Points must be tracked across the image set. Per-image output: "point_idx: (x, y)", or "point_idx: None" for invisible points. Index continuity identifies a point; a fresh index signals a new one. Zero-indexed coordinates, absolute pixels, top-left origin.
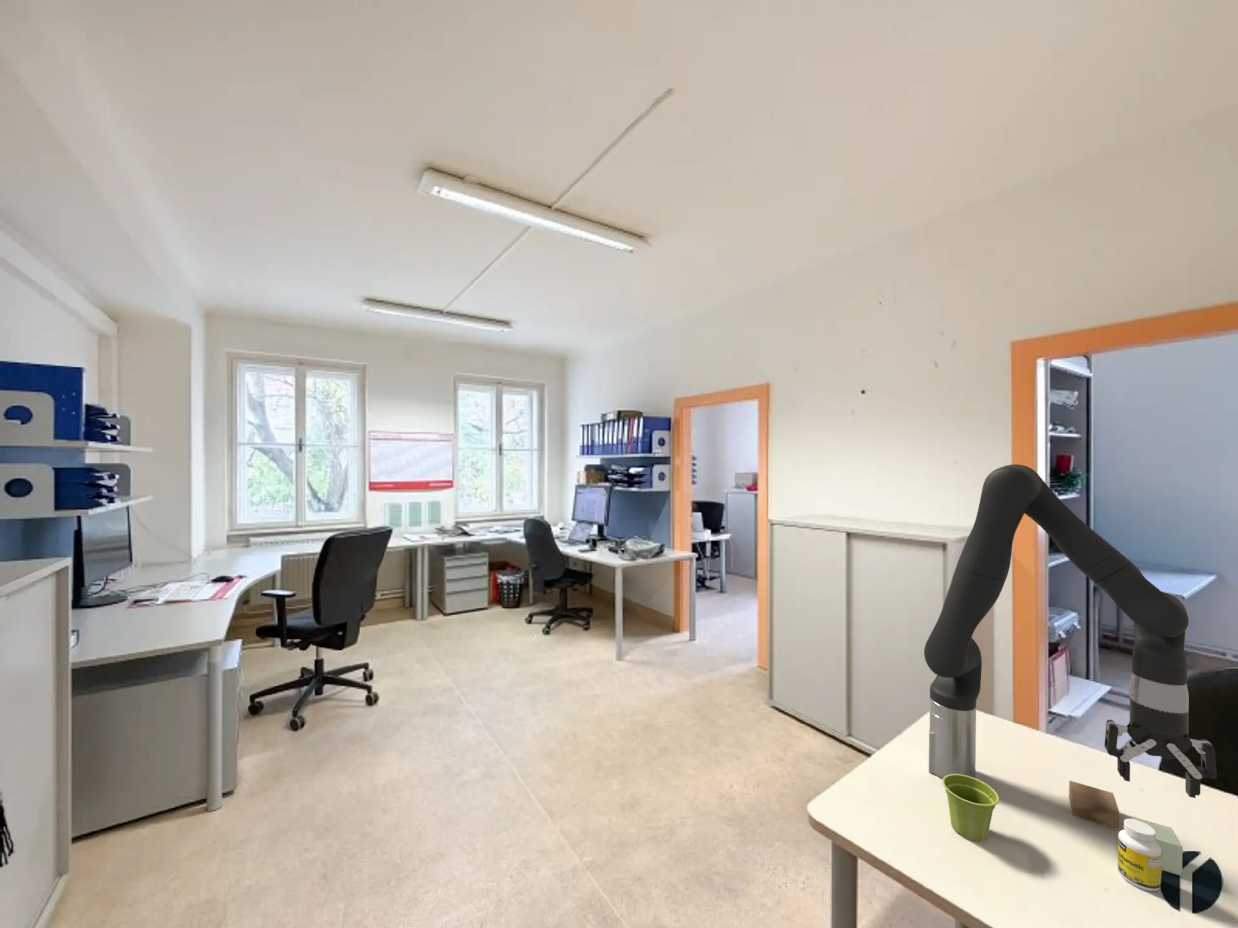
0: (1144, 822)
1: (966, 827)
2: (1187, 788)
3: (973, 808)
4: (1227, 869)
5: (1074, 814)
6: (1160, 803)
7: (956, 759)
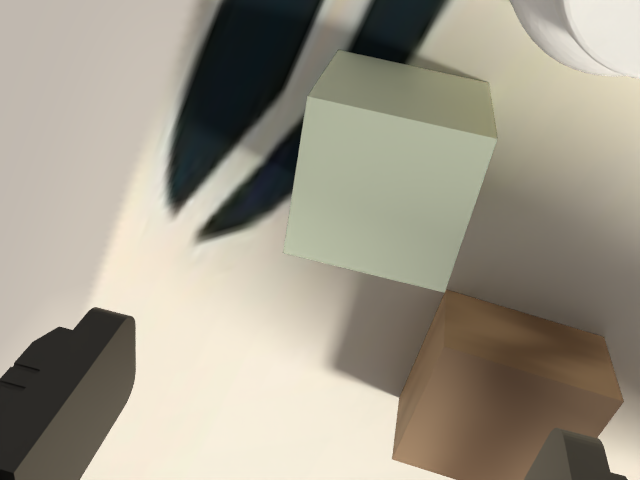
0: (400, 259)
1: None
2: (111, 391)
3: None
4: (141, 162)
5: (599, 339)
6: (211, 454)
7: None
